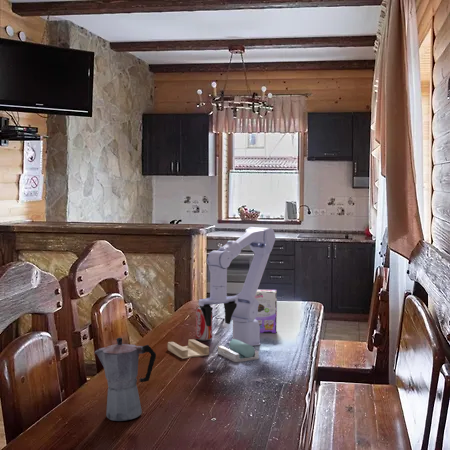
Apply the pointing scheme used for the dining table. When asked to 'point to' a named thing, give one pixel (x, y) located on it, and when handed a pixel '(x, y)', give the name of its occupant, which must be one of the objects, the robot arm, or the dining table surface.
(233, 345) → the light blue cylinder
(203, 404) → the dining table surface
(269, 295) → the candy box
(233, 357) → the v block
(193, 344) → the beige channel block
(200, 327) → the beverage can
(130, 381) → the moka pot
